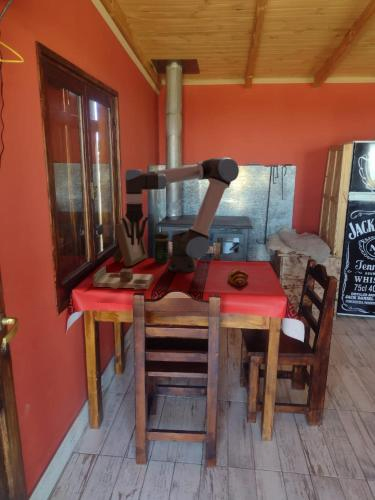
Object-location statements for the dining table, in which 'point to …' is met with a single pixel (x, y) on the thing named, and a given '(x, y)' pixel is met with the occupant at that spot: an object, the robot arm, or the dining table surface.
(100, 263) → the dining table surface
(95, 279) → the trap board
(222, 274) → the dining table surface
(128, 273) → the walnut block
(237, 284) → the croissant
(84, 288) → the dining table surface
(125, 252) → the photo frame
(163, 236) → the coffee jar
